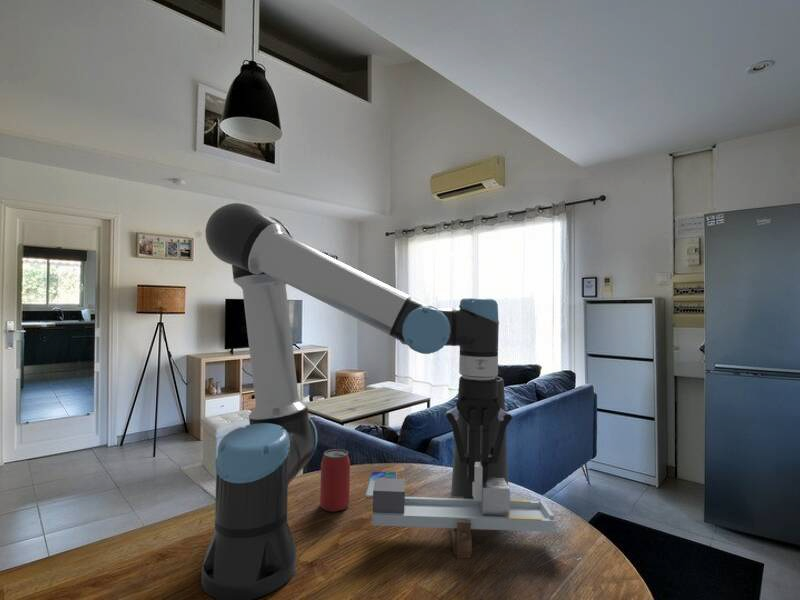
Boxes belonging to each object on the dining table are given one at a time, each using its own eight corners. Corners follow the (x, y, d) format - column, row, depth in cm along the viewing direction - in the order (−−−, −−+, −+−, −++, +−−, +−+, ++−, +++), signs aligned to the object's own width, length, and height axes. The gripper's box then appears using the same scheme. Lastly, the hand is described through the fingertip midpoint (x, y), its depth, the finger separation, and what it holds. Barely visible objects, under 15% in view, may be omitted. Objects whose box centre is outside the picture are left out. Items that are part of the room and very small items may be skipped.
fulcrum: (455, 559, 74) (455, 524, 74) (449, 525, 86) (449, 494, 86) (473, 560, 74) (473, 524, 74) (464, 526, 86) (464, 495, 86)
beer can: (343, 514, 90) (344, 459, 90) (315, 511, 91) (316, 456, 91) (352, 500, 96) (354, 449, 97) (326, 497, 98) (327, 447, 98)
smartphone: (364, 496, 98) (370, 471, 113) (364, 499, 98) (370, 474, 113) (394, 496, 98) (397, 471, 113) (394, 500, 98) (397, 474, 113)
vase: (499, 518, 90) (501, 385, 90) (442, 502, 96) (444, 378, 97) (515, 494, 101) (516, 376, 102) (463, 481, 108) (465, 371, 109)
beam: (371, 525, 77) (372, 492, 77) (375, 505, 85) (376, 476, 85) (555, 531, 76) (555, 499, 76) (541, 511, 84) (542, 481, 84)
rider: (482, 519, 78) (483, 487, 78) (478, 507, 83) (478, 477, 83) (509, 520, 78) (509, 488, 78) (503, 508, 83) (503, 478, 83)
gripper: (447, 379, 77) (445, 506, 77) (516, 380, 77) (515, 508, 76) (443, 373, 85) (442, 488, 84) (507, 374, 84) (506, 490, 84)
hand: (477, 497), depth 80 cm, fingers closed
